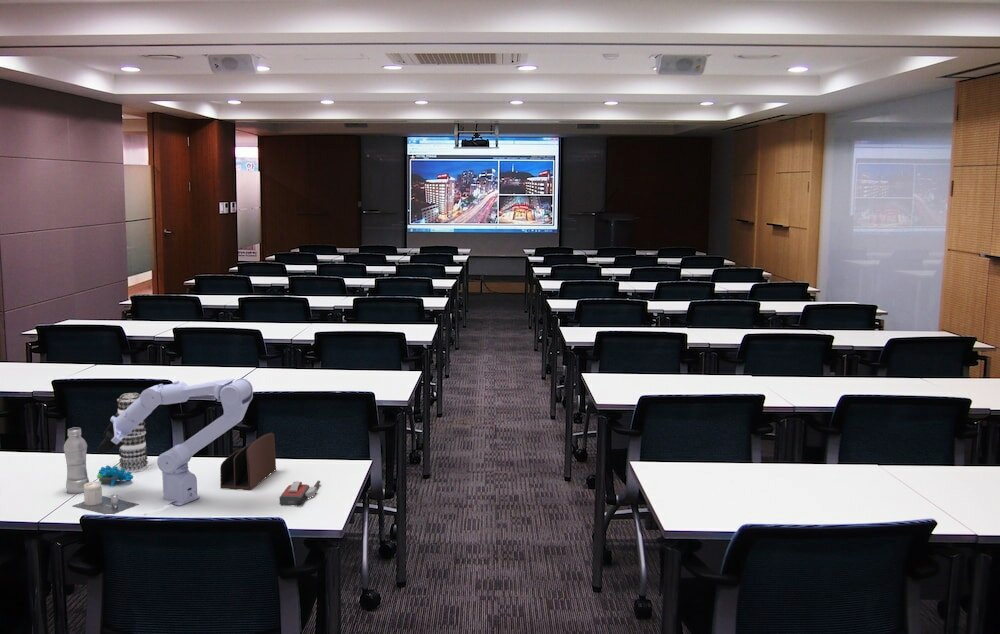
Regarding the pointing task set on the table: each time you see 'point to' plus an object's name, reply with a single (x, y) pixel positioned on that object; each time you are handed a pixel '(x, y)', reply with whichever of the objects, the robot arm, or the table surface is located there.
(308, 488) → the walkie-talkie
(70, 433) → the plastic bottle
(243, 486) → the letter holder
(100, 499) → the knob
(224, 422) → the robot arm
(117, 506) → the flat rectangular plate
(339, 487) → the table surface
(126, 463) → the decorative candle
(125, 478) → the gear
